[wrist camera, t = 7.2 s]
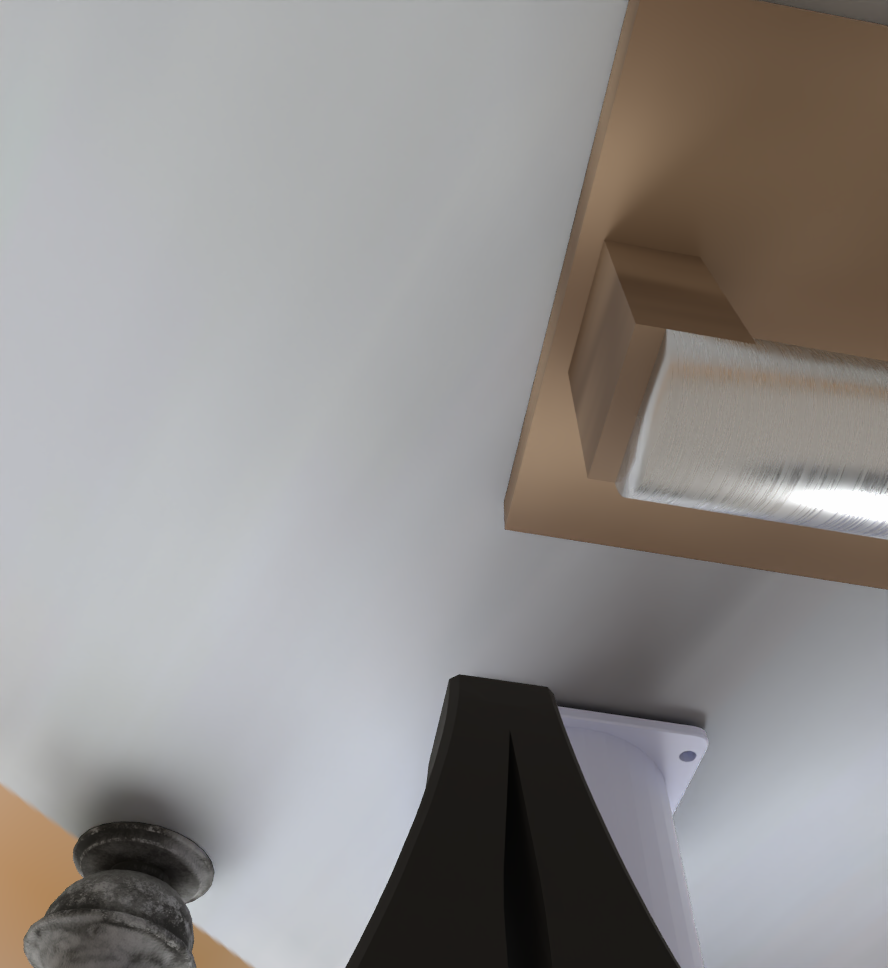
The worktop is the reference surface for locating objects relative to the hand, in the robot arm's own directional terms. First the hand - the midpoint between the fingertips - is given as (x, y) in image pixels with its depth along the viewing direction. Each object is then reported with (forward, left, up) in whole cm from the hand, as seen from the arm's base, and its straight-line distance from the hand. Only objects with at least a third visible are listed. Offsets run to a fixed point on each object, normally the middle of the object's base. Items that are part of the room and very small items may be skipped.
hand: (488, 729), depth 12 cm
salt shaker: (-22, +9, -11) cm, 26 cm away
